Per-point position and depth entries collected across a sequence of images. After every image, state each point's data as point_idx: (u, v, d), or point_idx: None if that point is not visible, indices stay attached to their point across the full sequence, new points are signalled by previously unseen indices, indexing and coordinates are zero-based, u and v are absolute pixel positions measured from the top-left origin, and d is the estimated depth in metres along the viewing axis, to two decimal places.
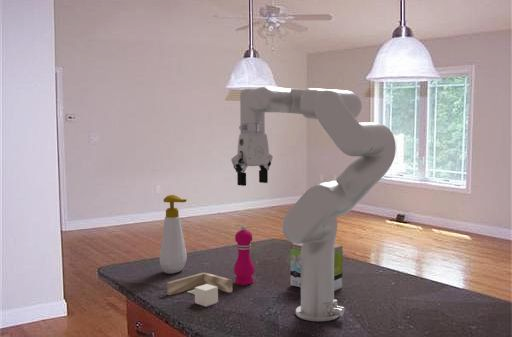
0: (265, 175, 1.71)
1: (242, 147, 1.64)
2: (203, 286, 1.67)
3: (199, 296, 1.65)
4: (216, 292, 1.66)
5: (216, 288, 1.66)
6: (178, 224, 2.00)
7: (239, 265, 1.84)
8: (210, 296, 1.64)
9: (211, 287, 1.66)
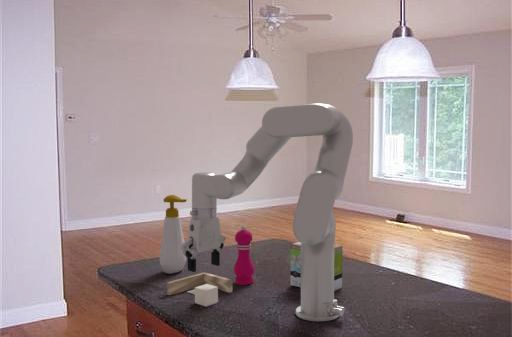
0: (217, 258, 1.68)
1: (192, 233, 1.61)
2: (203, 286, 1.67)
3: (199, 296, 1.65)
4: (216, 292, 1.66)
5: (216, 288, 1.66)
6: (178, 224, 2.00)
7: (239, 265, 1.84)
8: (210, 296, 1.64)
9: (211, 287, 1.66)
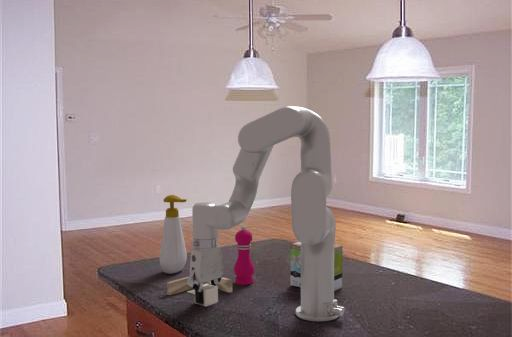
0: None
1: (194, 264, 1.62)
2: (203, 286, 1.67)
3: None
4: (216, 291, 1.66)
5: (216, 288, 1.66)
6: (178, 224, 2.00)
7: (239, 265, 1.84)
8: (210, 296, 1.64)
9: (211, 287, 1.66)
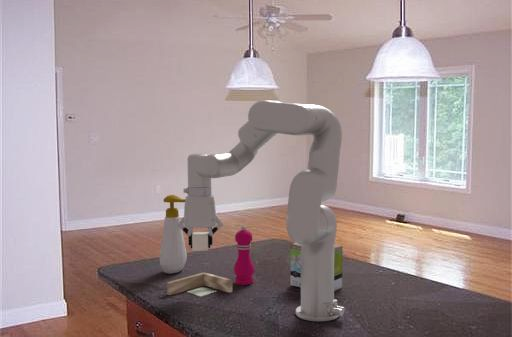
0: (208, 240, 1.75)
1: None
2: (200, 233, 1.77)
3: None
4: (206, 240, 1.73)
5: (206, 236, 1.73)
6: None
7: (239, 265, 1.84)
8: (198, 242, 1.73)
9: (202, 234, 1.74)
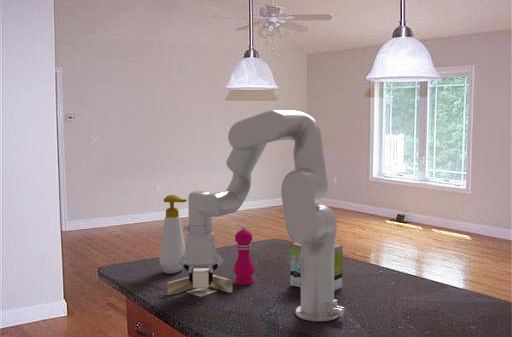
0: None
1: None
2: (201, 269, 1.78)
3: None
4: (206, 277, 1.74)
5: (206, 273, 1.74)
6: (178, 224, 2.00)
7: (239, 265, 1.84)
8: (198, 279, 1.74)
9: (203, 271, 1.75)
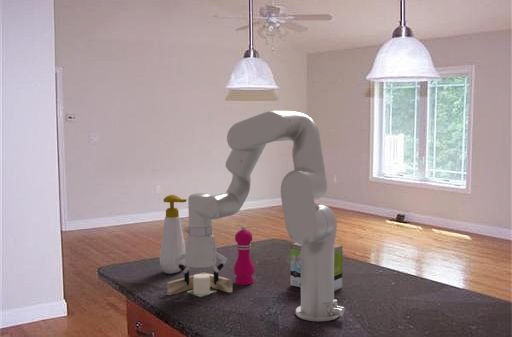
0: (214, 277, 1.76)
1: None
2: (201, 275, 1.78)
3: None
4: (207, 283, 1.74)
5: (207, 279, 1.74)
6: (178, 224, 2.00)
7: (239, 265, 1.84)
8: (199, 285, 1.74)
9: (203, 277, 1.75)
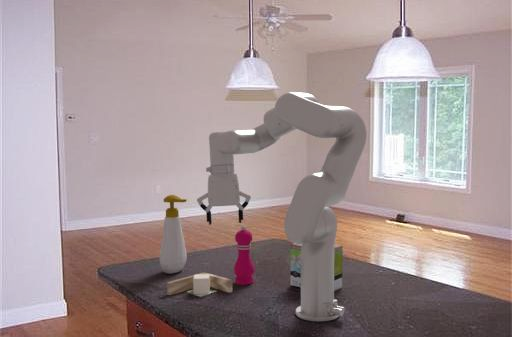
0: None
1: None
2: (201, 275, 1.78)
3: None
4: (207, 283, 1.74)
5: (207, 279, 1.74)
6: (178, 224, 2.00)
7: (239, 265, 1.84)
8: (199, 285, 1.74)
9: (203, 277, 1.75)
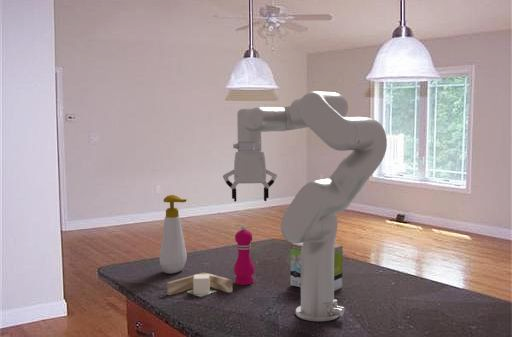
0: (264, 193, 1.72)
1: None
2: (201, 275, 1.78)
3: None
4: (207, 283, 1.74)
5: (207, 279, 1.74)
6: (178, 224, 2.00)
7: (239, 265, 1.84)
8: (199, 285, 1.74)
9: (203, 277, 1.75)
